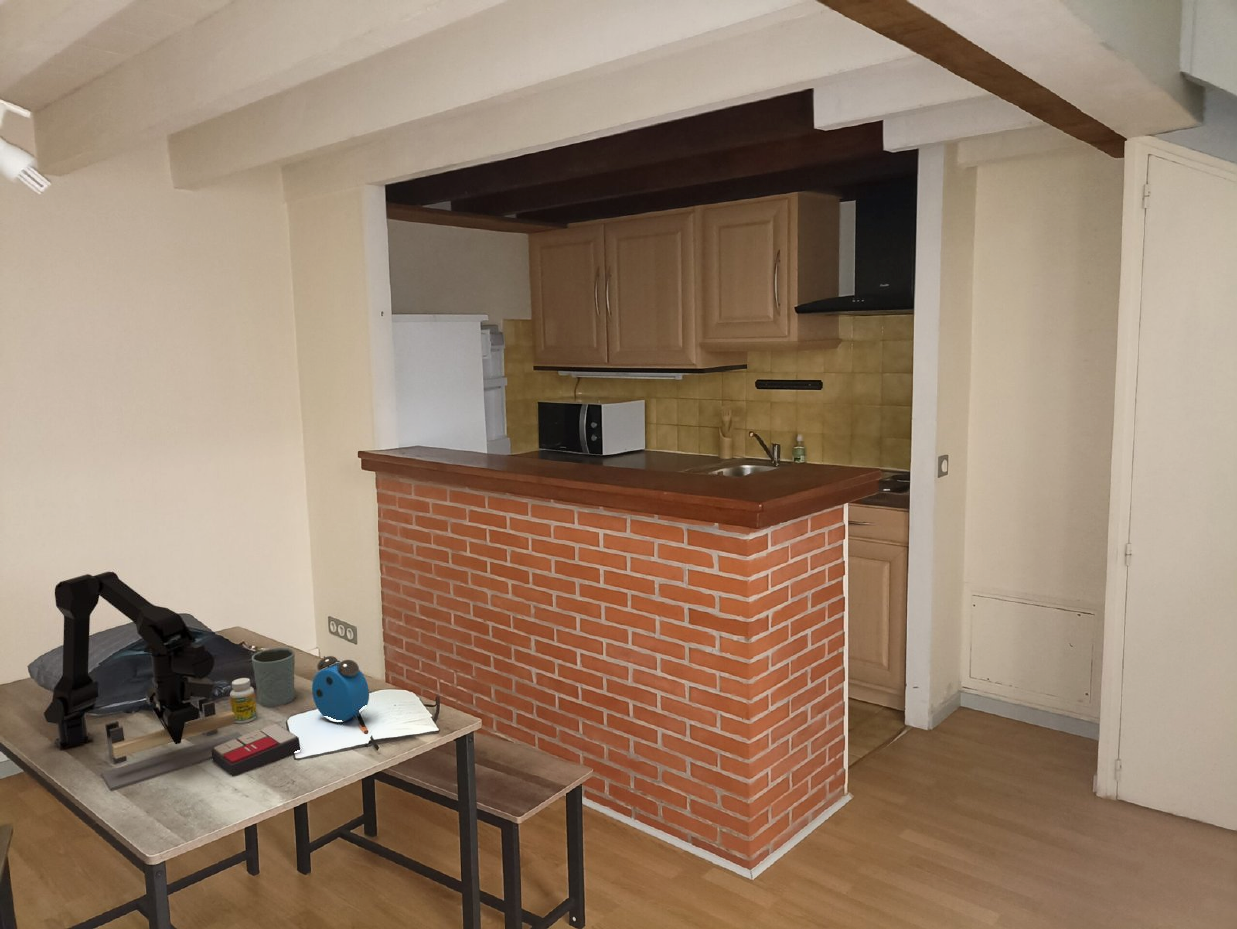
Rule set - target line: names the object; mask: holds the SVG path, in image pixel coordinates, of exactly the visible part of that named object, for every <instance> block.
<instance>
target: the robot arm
mask: <svg viewBox="0 0 1237 929" xmlns="http://www.w3.org/2000/svg"><path fill="white" fill-rule="evenodd" d="M100 597H101V598H102V599H104V600H105V601H106V602H107V603H108V604H110V605H111V606H113V607H114V608H115V609H116V610H118V611H119V612H120V613H122V615H124V616H125V617H126V618H128V619H129V620H130V621H132V622H133V624H135V626H136V630H137V634H138V635H139V636H140V637H141V638H142V639H143V640H144V641H145V643H147V644H148V645H146V646H145V647H144V649H143V650H142V651H143V653H145V654H150V657H151V664H152V674H153V676H152V677H151V683H152V684H153V686H154V687H151V688H149V689H148V690H147V692H146V693H145V699H146V700H145V701H146V703H147V704H148V706H153V704H154V703H155V705H156V706H155V707H153V708H152V711H153V713H154V716H156V718H157V719H158V721H159V722H160V724H161V726H162V727H163V729H166V730H167V731H168V733H169V735H170V736H171V738H172V740H173V741H174V742H173V743H174V745H179V744H181V743H182V740H183V739H182V734H183V729H184V725H185V723H188V722H192V721H195V720H199V718H200V713H199V709H198V706H197V705H196V704H195V703H193V702H191V700H192V697H193V698H197V697H198V698H203V697H205V698H209V699H211V698H212V694H213V690H214V687H215V683H214V681H212V680H211V679H209V678H207V677H208V676H209V675H210V674H211V673H212V671H213V668H214V664H215V658H214V656H213V655H212V653H211V652H210V651H208V650H206V649H205V645H204V644H194V643H197V640H196V638H195V637H194V634H193V632H192V631H191V630H190V629H189V628H188V626H187V624H186V623H185V621H184V619H183V618H182V616H181V615H180V614H179V613H177V612H175V611H174V610H171V609H170V608H167V607H164V606H159V605H155V604H153V603H151V602H150V601H149V600H147V599H146V598H145V597H144V596H142V595H141V594H139V593H138V592H137V591H135V590H134V589H133V588H132V587H131V586H129V585H127V584H126V583H125V582H123V580H122V579H120V578H119V576H118V574H117V573H115V572H114V571H106V572H101V573H98V574H95V575H92V574H89V573H87V574H83V575H80V576H79V575H78V576H76V577H72V578H70V579H66V580H62V581H60V582H58V583H57V584H56V585H55V587H54V601H55V606H56V608H57V609H58V610H59V611H60V613H61V615H63V642H62V643H63V644H62V645H63V646H62V675H61V677H60V679H59V680H58V682H56V684H55V686H54V688H53V692H52V693H53V694H52V698H51V699H52V701H51V703H49V705H48V707H47V708H46V709H45V710H44V712H43V716H44V719H45V721H46V723H50V724H55V725H56V727H57V734H58V738H55V743H56V745H57V746H58V748H59V750H65V749H68V748H73V747H77V746H78V745H79V746H80V745H83V744H86V743H89V742H93V737H92V735H91V734H90V732H89V731H88V724H87V716H86V714H87V713H88V712H92V711H94V710H95V706H96V702H97V698H99V697H100V696H99V690H98V689H99V682H98V681H95V679H93V678H92V677H91V675H90V674H89V663H90V662H89V659H90V653H89V652H90V632H91V631H90V628H91V627H90V626H91V622H90V621H91V614H92V613H93V611H94V610H95V608H96V606H97V605H98V603H99V600H100V599H99V598H100ZM176 639H177V640H176ZM173 640H174V641H173ZM181 739H182V740H181Z"/></svg>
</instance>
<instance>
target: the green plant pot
mask: <svg viewBox="0 0 1237 929" xmlns="http://www.w3.org/2000/svg"><path fill="white" fill-rule="evenodd" d="M295 656H296V655H295V650H294V649H292V648H289V647H274V648H267V649H264V650H261V651H258V652H255V653H254V654H253V655H252V656H251V663H252V668H253V674H254V681H255V686H256V694H257V702H258V704H259V706H262V707H267V708H273V707H279V706H283V705H287V704H289V703H291V702H292V701H293V700H294V699H295V697H296V696H295V695H296V694H295V692H296V691H295V664H296V663H295V662H296V661H295Z"/></svg>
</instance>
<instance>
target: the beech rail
mask: <svg viewBox="0 0 1237 929" xmlns="http://www.w3.org/2000/svg"><path fill="white" fill-rule="evenodd" d="M235 724H236V723H235V716H234V713H233V712H232V709H231V710H227V711H223V712H221V713H218V714H217V713H216V715H213V716H209V717H206V718H202V719H199V718H198V719H196V720H192V721H189V722H185V725H184V729H183V734H182V739H181V741H182V740H184V739H185V740H186V739H188V738H192V737H194V736H199V735H202V734H204V733H205V732H209V731H212V730H216V729H217V730H218V729H223V728H225V727H226V728H227V727H230V726H232V725H235ZM172 743H174V741H173V740H172V738H171V736H170V735H169V733H168V731H167V730H166V729H164V728H163V729H160V730H157V731H154V732H149V733H145V734H143V735H139V736H135V737H133V738H132V737H131V738H130V739H124V741H121V742H118V743H114V744H112V752H113V756H114V758H115V759H117V758H120V757H124V756H126V757H127V756H130V755H134V754H137V753H141V752H145V751H148V750H150V749H154V748H158V747H161V746H165V745H168V744H172Z"/></svg>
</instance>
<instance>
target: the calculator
mask: <svg viewBox="0 0 1237 929" xmlns="http://www.w3.org/2000/svg"><path fill="white" fill-rule="evenodd" d="M300 749H301V743H300V737H299V736H297V735H295V734H294V733H292V732H290V731H289V730H288V729H286V728H284V727H283V726H281V725H280V724H277V723H274V724H272V725H269V726H266V727H264V728H262V729H260V730H258V729H257V730H254V731H251V732H250V733H246V734H244V735H242V736H241V737H239V738H238V740H236V739H234V740H231V741H228V742H226V743H223V744H221V745H218V746H215V747H214V749H212V750H211V753H212V759H211V760H212V762H213V763H215V765H217V766H218V767H219V768H221V769H222V770H223V771H225V772H226V773H227V774H228V775H230V777H236V776H239V775H242V774H245V773H248V772H251V771H252V770H256V769H259V768H262V767H263V766H266V765H269V764H271V763H273V762H275V761H278V760H281V759H286V758H289V757H291V756H293V755H295V754H294V752H295V751H297V750H300ZM258 767H259V768H258Z"/></svg>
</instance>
